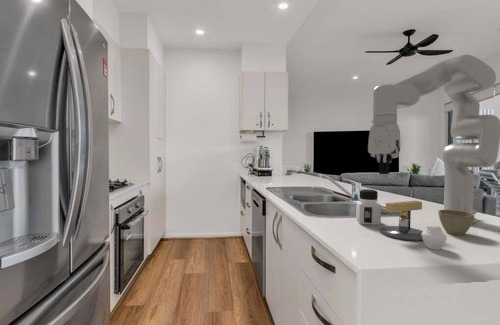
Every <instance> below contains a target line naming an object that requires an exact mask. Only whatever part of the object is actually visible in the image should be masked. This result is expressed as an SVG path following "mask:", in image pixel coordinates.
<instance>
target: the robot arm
mask: <svg viewBox="0 0 500 325" xmlns="http://www.w3.org/2000/svg"><path fill="white" fill-rule="evenodd" d="M496 80H497V75H496V72H495V70H494V69H493V67H491V66H490V65H489V64H487V63H485V62H484V61H482V60H481V59H479V57H477V56H474V55H471V54H461V55H458V56H455V57H451V58H448V59H445V60H441V61H439V62H436V63H435V64H434V65H431V66H430V67H428V68H427V69H425V70H423V71H421V72H419V73H417V74H414V75H413V76H409V77H408V78H406V79H403V80H401V81H400V82H397V83H394V84H391V83H389V84H387V83H386V84H380V85H377V86H375V87H374V89H373V91H372V92H373V93H372V94H373V95H372V98H373V100H372V104H373V105H372V112H373V113H372V119H371V123H372V125H371V126H370V128H369V129H370V130H369V134H368V144H367V152H368V153H369V154H370V157H372V158H375V159H376V161H377V163H378V174H379V175H389V174H390V163H392V161H393V159H395V158H399V157H400V152H401V145H402V144H401V143H402V142H401V132H400V128H399V124H398V109H404V108H410V107H412V106H415V105H416V104H417V103H418V102H419V101H420V98H421V97H422V96H426V95H428V94H430V93H433V92H435V91H437V90H438V89H439V88H441V87H443V91H444V92H445V93H446V95H447V96H448V97H449V99H450V100H451V103H452V106H453V110H452V116H451V117H452V119H451V125H450V136H451V137H452V138H453V139H454V140H457V141H458V140H459V141H474V140H475V141H477V140H479V141H478V142H456V143H454V142H453V143H450V144H448V145H446V146H445V147H444V148H443V150H442V160H443V165H444V166H443V167H444V188H443V189H444V191H443V192H444V193H443V210H458V211H464V212H469V213H472V214H474V215H476V214H477V213H478V210H476V209H474V186H475V185H474V184H475V180H474V175H473V173H472V172H471V170H470V169H469V168H490V167H492V166H494V165H495V164H496V162H497V159H498V158H499V157H498V156H499V149H500V118H498V116H496V115H494V114H480V108H481V107H480V102H479V100H478V99H477V98H476V97H475V96H474V95H473V94H472V93H473V92H479V91H486V90H488V89H490V88H491V87H493V86H494V85H495V83H496ZM476 223H478V219H477V218H476V217H474V220H473V222H472V224H476Z"/></svg>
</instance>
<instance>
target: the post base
mask: <svg viewBox="0 0 500 325" xmlns="http://www.w3.org/2000/svg"><path fill="white" fill-rule="evenodd" d="M411 213H412V210H411V211H408V215H409V216H408V218H398V225H387V226H382V227H381V228H380V233H381V234H382V235H383V236H386V237H388V238H391V239H395V240H401V241H406V242H408V241H410V242H422V241H423V239H422V238H423V237H422V232H423V231H424V230H421V229H419V228H414V227H411V218H412V216H411V215H412V214H411ZM423 242H424V241H423Z"/></svg>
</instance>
